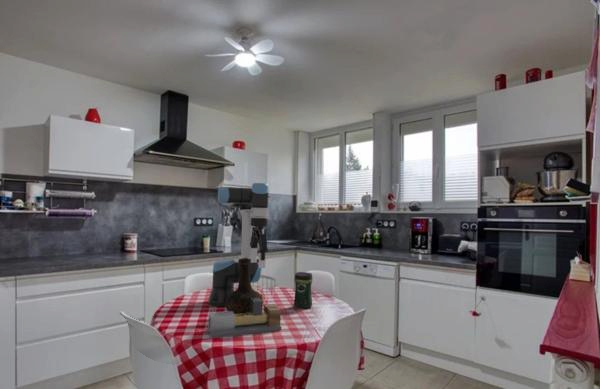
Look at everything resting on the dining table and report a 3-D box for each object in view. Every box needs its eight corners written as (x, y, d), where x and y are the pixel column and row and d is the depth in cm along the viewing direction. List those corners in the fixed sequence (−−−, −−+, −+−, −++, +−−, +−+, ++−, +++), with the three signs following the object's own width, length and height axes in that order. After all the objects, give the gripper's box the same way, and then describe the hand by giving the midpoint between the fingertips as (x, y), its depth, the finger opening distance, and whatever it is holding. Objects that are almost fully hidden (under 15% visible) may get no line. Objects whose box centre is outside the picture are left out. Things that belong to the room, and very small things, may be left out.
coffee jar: (313, 305, 187) (314, 272, 188) (308, 309, 180) (309, 274, 180) (297, 303, 190) (298, 270, 191) (291, 307, 183) (292, 272, 184)
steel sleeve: (208, 327, 145) (209, 312, 146) (231, 324, 149) (232, 310, 149) (210, 332, 140) (210, 317, 140) (234, 329, 144) (235, 315, 144)
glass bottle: (268, 313, 172) (270, 257, 173) (251, 324, 155) (253, 262, 156) (237, 308, 178) (239, 255, 179) (218, 318, 161) (220, 259, 162)
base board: (207, 328, 148) (207, 324, 148) (272, 321, 160) (273, 318, 160) (211, 338, 137) (211, 334, 137) (281, 330, 148) (281, 326, 149)
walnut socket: (263, 320, 156) (264, 304, 157) (274, 319, 158) (274, 303, 159) (269, 326, 148) (270, 310, 148) (280, 325, 150) (280, 309, 150)
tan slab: (226, 322, 148) (226, 300, 149) (271, 318, 156) (272, 296, 157) (228, 327, 143) (229, 303, 143) (276, 322, 151) (276, 300, 151)
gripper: (244, 216, 162) (242, 260, 162) (258, 218, 139) (256, 270, 139) (259, 216, 165) (258, 260, 164) (276, 218, 142) (274, 269, 141)
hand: (257, 265), depth 152 cm, fingers open, 13 cm apart
